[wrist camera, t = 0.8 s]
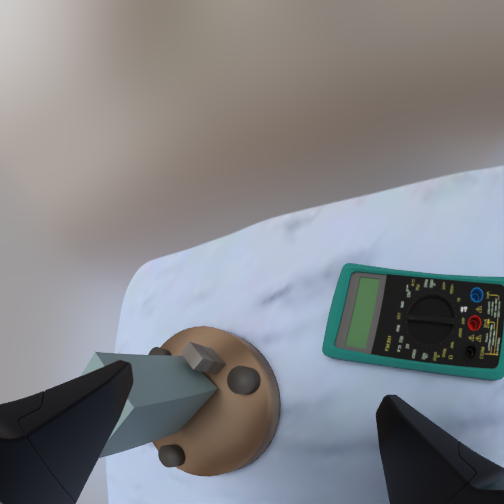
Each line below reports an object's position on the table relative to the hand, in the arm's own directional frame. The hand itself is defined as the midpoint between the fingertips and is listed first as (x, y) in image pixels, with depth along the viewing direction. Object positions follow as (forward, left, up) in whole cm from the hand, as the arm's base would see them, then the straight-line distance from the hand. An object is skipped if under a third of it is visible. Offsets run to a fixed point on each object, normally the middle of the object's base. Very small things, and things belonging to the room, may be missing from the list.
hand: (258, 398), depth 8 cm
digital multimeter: (+3, -7, -14) cm, 16 cm away
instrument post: (+1, +13, -11) cm, 17 cm away
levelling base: (+1, +13, -13) cm, 18 cm away
